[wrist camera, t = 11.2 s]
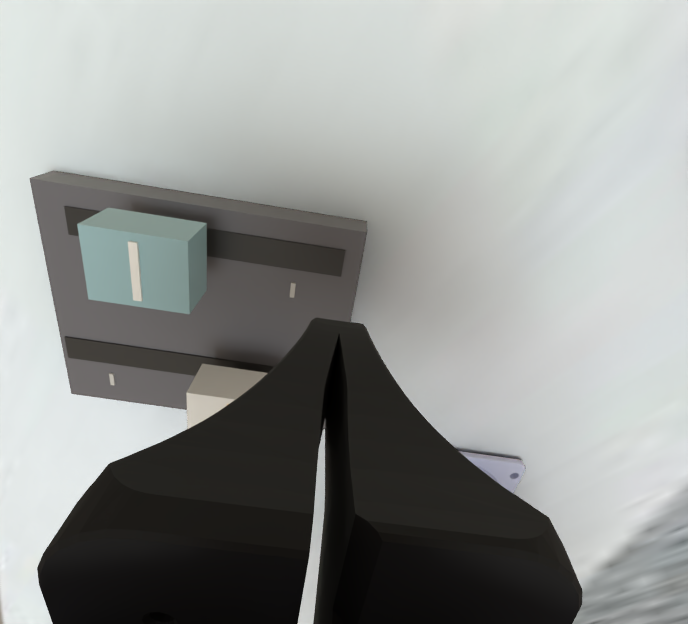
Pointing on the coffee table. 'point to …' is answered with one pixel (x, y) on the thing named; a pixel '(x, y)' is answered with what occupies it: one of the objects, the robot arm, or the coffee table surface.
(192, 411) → the cream fader
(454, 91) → the coffee table surface
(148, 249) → the teal fader
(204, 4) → the coffee table surface
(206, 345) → the mixer panel
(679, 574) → the coffee table surface
